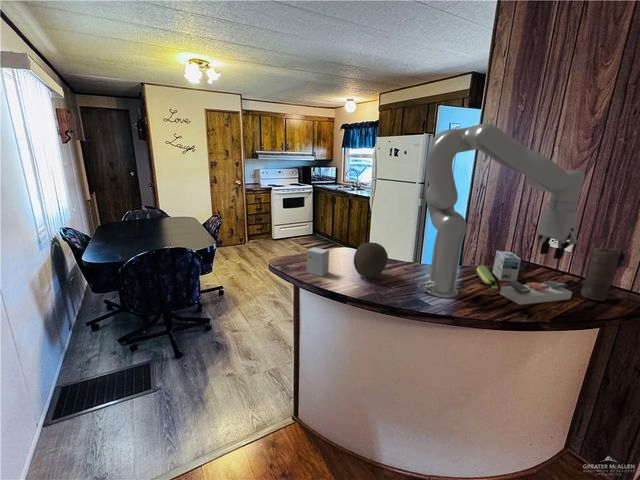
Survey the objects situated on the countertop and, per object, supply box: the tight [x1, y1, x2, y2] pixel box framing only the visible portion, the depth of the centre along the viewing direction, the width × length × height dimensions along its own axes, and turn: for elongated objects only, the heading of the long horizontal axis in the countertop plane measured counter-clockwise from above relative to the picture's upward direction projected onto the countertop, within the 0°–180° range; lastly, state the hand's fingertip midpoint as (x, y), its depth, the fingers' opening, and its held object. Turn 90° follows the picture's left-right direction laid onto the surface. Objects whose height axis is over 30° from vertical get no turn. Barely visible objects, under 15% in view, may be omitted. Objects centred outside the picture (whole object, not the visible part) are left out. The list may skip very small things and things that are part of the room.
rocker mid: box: [525, 281, 549, 289], centre depth 117 cm, size 4×6×1 cm, turn 14°
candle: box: [580, 247, 621, 301], centre depth 116 cm, size 8×7×20 cm
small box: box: [306, 247, 330, 277], centre depth 134 cm, size 8×6×10 cm
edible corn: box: [475, 264, 498, 290], centre depth 132 cm, size 5×20×5 cm
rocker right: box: [542, 280, 568, 288], centre depth 120 cm, size 4×6×1 cm, turn 14°
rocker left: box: [508, 281, 531, 294], centre depth 115 cm, size 4×6×1 cm, turn 14°
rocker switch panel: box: [499, 282, 573, 306], centre depth 118 cm, size 24×9×4 cm, turn 104°
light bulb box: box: [492, 250, 522, 283], centre depth 136 cm, size 11×7×11 cm, turn 168°
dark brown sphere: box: [353, 241, 389, 280], centre depth 131 cm, size 14×14×15 cm
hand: (550, 255), depth 112 cm, fingers open, 4 cm apart
